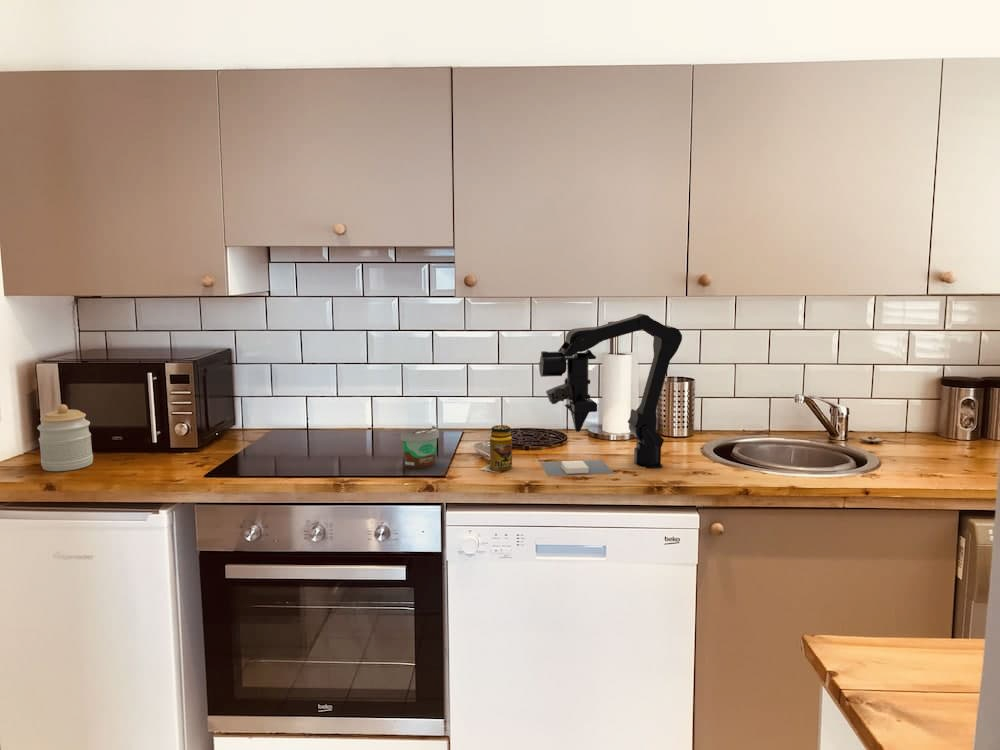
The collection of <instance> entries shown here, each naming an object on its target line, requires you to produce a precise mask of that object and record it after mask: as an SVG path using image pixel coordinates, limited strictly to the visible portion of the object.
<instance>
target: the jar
mask: <svg viewBox="0 0 1000 750" xmlns="http://www.w3.org/2000/svg"><path fill="white" fill-rule="evenodd" d="M56 409H57V410H53V411H49V412H47V413H45V414H44V415H43V416H41V417H40V418H39V420H40V421H41V424H39V425H38V426H37V427H36V428H37V430H39V438H38V441H39V442H38V443H39V451H40V464H41V468H42V469H43V471H46V472H66V471H75V470H79V469H82V468H86V467H88V466H91V465H92V464H93V463H94V461H93V460H94V454H93V449H92V448H93V447H92V433H91V432H90V429H89V426H90V424H91V421H89V420H88V419H86V416H87V414H86V413H85V412H82V411H80V410H78V409H69V407H68V406H67V404H64V403H63V404H59V405H58V406H57V408H56Z"/></svg>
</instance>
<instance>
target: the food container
mask: <svg viewBox="0 0 1000 750" xmlns="http://www.w3.org/2000/svg"><path fill="white" fill-rule="evenodd" d="M438 438H440V432H439V429H438V427H437V426H435V425H432V426H431V428H429V429H426V430H417V431H414V432H412V433H410V432H409V433H407V432H401V435H400V440H401V441H402V447H403V456H404V465H405V467H406V468H409V469H410V468H411V469H424V468H430V467H433V466H435V465H436V458H437V457H436V456H437V445H438V444H437V442H438Z"/></svg>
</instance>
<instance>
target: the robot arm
mask: <svg viewBox="0 0 1000 750" xmlns="http://www.w3.org/2000/svg"><path fill="white" fill-rule="evenodd" d="M639 331H643V332H645V333H646V334H648V335H650V336H651V337H652V338H653V341H652V342H653V343H652V346H653V347H652V349H653V358H652V361H651V365H650V368H649V372H648V375H647V376H648V377H647V380H646V383H645V387H644V390H643V394H642V396H641V397H642V398H641V400H640V404H639V406H638V408H637V409H633V408H632V409H631V410H630V415H629V419H628V420H627V423H628V429H629V431H630V433H631V434H632V435H633V436H634V437H635V440H636V443H635V444H636V445H635V448H634V450H633V451H634V453H633V454H634V455H633V461H634V463H635V464H636V465H638V467H641V468H649V469H650V468H663V464H662V461H661V460H662V459H661V458H662V446H663V444H664V441H665V440H664V439H665V438H663V437H662V436H661V435H660V434H659V433H658V432H657V425H658V424H657V423H658V420H657V419H658V417H657V407H658V404H659V400H660V397H661V395H662V390H663V387H664V383H665V380H666V376H667V372H668V370H669V365H670V362H671V360H672V359H673V358H674V357H675V354H677V352H678V349H679V347H680V346H681V344H682V341H683V334H682V332H681V331H680V330H679V329H678V328H677V327H673V326H670V325H668V324H667V325H666V324H662V323H661V322H659V321H656V320H655V319H653V318H652V317H650V316H649V315H647V314H644V313H638V314H636V315H634V316H631V317H626V318H623V319H619V320H616V321H613V322H608V323H606V324H605V323H604V324H603V325H600V326H599V325H598V326H590V327H577V328H573V329H570V330H568V332H567V334H566V336H565V341H564V342H563V343H562V345H561V347H559V349H558V350H557V351H545V350H543V351H541V352H540V358H539V363H538V369H539V375H540V377H541V378H542V377H544V378H545V377H562V376H563V374H565V373H566V374H567V375H566V377H565V379H564V383H563V384H560V385H557V386H554V387H552V388H550V389H547V390H546V391H545V393H546V395H547V398H548V401H549V403H551V404H552V405H556V404H558V402H564V401H565V400H566V401H567V403H566V404H564V407H566V409H567V410H568V411H570V414H571V418H572V422H573V427H574V430H575V432H576V433H578V432H579V433H580V432H581V430H582V427H583V426H584V424H585V421H586V419H587V417H588V415H589V414H590V413H595V412H598V404H597V403H596V401H594V400H593V399H591V394H589V385H590V384H591V379H589V360H596V359H597V356H596V355H595V354H593V352H592V350H590V349H592V348H594V347H595V346H597V345H599V344H600V343H602V342H604V341H607V340H610V339H614V338H618V337H620V336H624V335H628V334H631V333H634V332H635V333H636V332H639Z"/></svg>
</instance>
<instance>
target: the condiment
mask: <svg viewBox="0 0 1000 750" xmlns="http://www.w3.org/2000/svg"><path fill="white" fill-rule="evenodd" d="M511 431H512V429H511V426H508V425H504V424H501V425H500V424H499V425H494V426H492V427H491V432H490V434H491V435H490V438H489V453H490V454H489V464H487V465H485V466H483V467H482V468H479V470H482V471H486V472H492V473H498V474H502V472H501V471H508V470H510V469H512V467H513V437H512V436H511V435H512V432H511Z"/></svg>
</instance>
